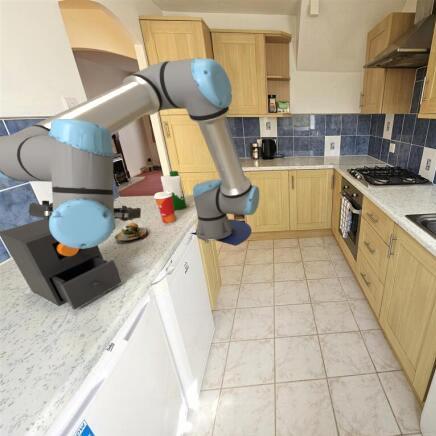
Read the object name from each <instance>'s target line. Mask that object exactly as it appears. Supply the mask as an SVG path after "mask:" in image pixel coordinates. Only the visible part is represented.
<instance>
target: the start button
mask: <svg viewBox="0 0 436 436" xmlns="http://www.w3.org/2000/svg"><path fill="white" fill-rule="evenodd" d="M56 249H57V252H58V253H59V254H62V255H64V256H73V255H75V254H76V253H77V252H78V251H79V248H72V247H69V246H66V245H64V244H62V243H59V244H58V245H57V248H56Z"/></svg>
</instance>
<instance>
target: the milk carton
mask: <svg viewBox="0 0 436 436" xmlns="http://www.w3.org/2000/svg"><path fill="white" fill-rule="evenodd" d="M160 180H161V186H162V190H163V192H166V191H169V192H171V194H172V200H173V206H174V212H175V211H180V210H185V209H187V204H186V198H185V193H184V188H183V184H182V176H181V175H180V174H179V171H178V170H172V171H169V174H166V175H161V176H160Z"/></svg>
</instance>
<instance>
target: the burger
mask: <svg viewBox="0 0 436 436" xmlns="http://www.w3.org/2000/svg"><path fill="white" fill-rule="evenodd" d="M131 221H132V222H130V223H127V224H126V225H125V228H126V229H125V228H122V229H121V231H120V232H119V233H117V234H116V235H115V236H114V239H115V240H117V241H122V242H125V241H127V242H128V241H133V240H137V239H139V238H140V239H141V240H144V239H146V238H147V235H149V231H148V229H147V228H146V227H139V225H138V223H135V222H133V221H134V219H132V220H131Z"/></svg>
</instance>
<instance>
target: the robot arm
mask: <svg viewBox="0 0 436 436" xmlns="http://www.w3.org/2000/svg"><path fill="white" fill-rule="evenodd" d="M232 91H233V89H232V85H231V81H230V79H229V76H228V74H227V72H226V70H225V69H224V68H223V65H221V64H220V63H219V62H218V61H217V60H215V59H213V58H202V57H201V58H200V57H195V58H187V59H178V60H170V61H169V60H165V61H160V62H156V63H154V64H151V65H149V66H147V67H145V68H142V69H141V70H139V71H136V72H135V73H133V74H130V75H128V76H126V77H125V78H124V79H123V81H122V84H120V85H119V86H116V87H114V88H112V89H110V90H108V91H105V92H103V93H101V94H99V95H97V96H96V95H95V97H92V98H90V99H88V100H85V101H82V102H81V103H79V104H77V105H74V106H72V107H70V108H67V109H66V110H64V111H61V112H60V113H57V114H54V115H53V116H50V117H48V118H46V119H43V120H41V121H39V122H37V123H35V124H34V125H31V126H29V127H26V128H23V129H21V130H19V131H17V132H15V133H12V134H0V179H4V180H9V181H15V182H43V183H44V182H47V183H51V191H52V193H51V197H52V202H50V200H41V204H40V203H36V202H31V203H29V204H28V205H29V209H28V210H29V211H28V215H29V216H31V217H36V218H41V219H47V220H49V228H50V231H51V234H52V235H53V237H54V238H55V239H56V240H57V241H59V242H60V243H62V244H64V245H66V246H69V247H72V248H81V249H85V248H91V247H94V246H97V245H98V246H99V245H101V244H103V243H105V242H106V241H107V240H108V239H109V238H110V237H111V235H112V234H113V233H114V230H115V228H116V219H119V221H122V222H127V221H132V220H137V219H141V217H142V208H141V207H136V208H133V207H127V206H126V205H121V207H115V204H114V203H115V200H114V199H115V198H114V197H115V196H114V157H115V153H114V150H113V149H114V147H113V137H112V136H113V135H115V134H116V133H118V132H120V131H122V130H123V129H124V128H126V127H128V126H129V125H131V124H132V123H134V122H135V121H137V120H139V119H140V118H142V117H144V116H145V115H147V116H152V115H156V113H158V112H161V111H165V110H177V109H178V110H182V109H183V110H186V111H187V114H188V116H189V118H190V120H191V121H193V122H195V123H197V124H198V127H199V130H200V131H201V134H202V136H203V139H204V141H205V144H206V147H207V149H208V152H209V154H210V157H211V159H212V162H213V165H214V167H215V169H216V171H217V174H218V176H219V179H211V180H206V181H201V182H199V183H196V184H194V186H193V187H192V197H193V200H194V205H195V210H196V215H197V226H196V229H195V232H196V233H197V235H196V237H197V239H199V240H201V241H206V242H208V241H209V242H210V241H216V242H220V240H223V239H226V238H228V237H229V236H231V235H232V233H233V232H234V233H236V231H235V230H234V229H233V227H232V225H231V223H230V221H229V219H230V218H229V217H228V215H238V216H253V215H254V214H255V213H256V212H257V210H258V207H259V203H260V188H259V186H257V185H252V183H251V180H250V178H249V177H247V176H246V175H245V173H244V169H243V165H242V163H241V160H240V156H239V154H238V151H237V147H236V144H235V141H234V137H233V134H232V130H231V128H230V124H229V121H228V117H227V115H228V113H229V111H230V105H231V104H232V101H233V93H232Z"/></svg>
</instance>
